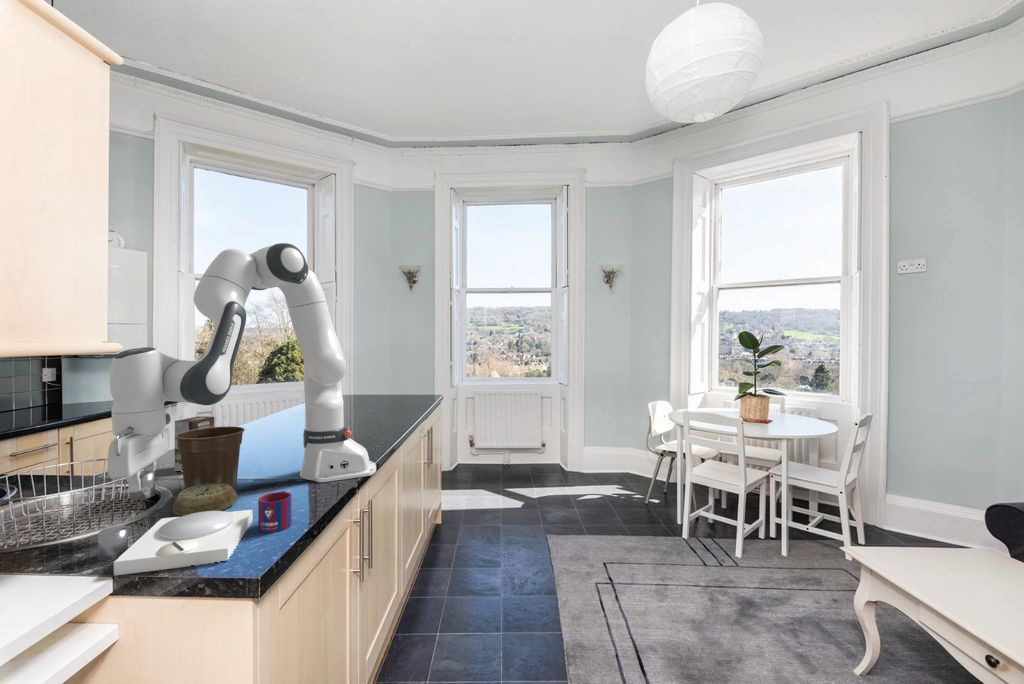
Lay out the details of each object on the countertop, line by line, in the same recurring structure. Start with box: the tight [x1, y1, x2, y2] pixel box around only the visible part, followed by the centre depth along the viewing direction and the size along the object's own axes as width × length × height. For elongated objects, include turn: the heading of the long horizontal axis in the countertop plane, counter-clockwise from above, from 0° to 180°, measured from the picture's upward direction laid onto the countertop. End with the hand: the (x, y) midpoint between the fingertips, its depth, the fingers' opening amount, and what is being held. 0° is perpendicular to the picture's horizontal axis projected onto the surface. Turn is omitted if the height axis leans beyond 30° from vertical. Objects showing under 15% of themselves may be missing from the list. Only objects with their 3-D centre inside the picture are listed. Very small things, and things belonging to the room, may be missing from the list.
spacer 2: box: [128, 470, 156, 501], centre depth 99 cm, size 4×4×5 cm
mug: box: [257, 490, 293, 534], centre depth 105 cm, size 7×10×7 cm
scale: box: [113, 509, 254, 576], centre depth 94 cm, size 18×20×3 cm
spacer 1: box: [97, 525, 129, 562], centre depth 90 cm, size 4×4×5 cm
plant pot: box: [174, 426, 245, 490], centre depth 128 cm, size 16×16×16 cm
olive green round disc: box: [172, 483, 238, 517], centre depth 114 cm, size 14×14×5 cm
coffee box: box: [174, 415, 215, 472], centre depth 146 cm, size 9×6×16 cm
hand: (142, 486), depth 99 cm, fingers closed on spacer 2, 4 cm apart
